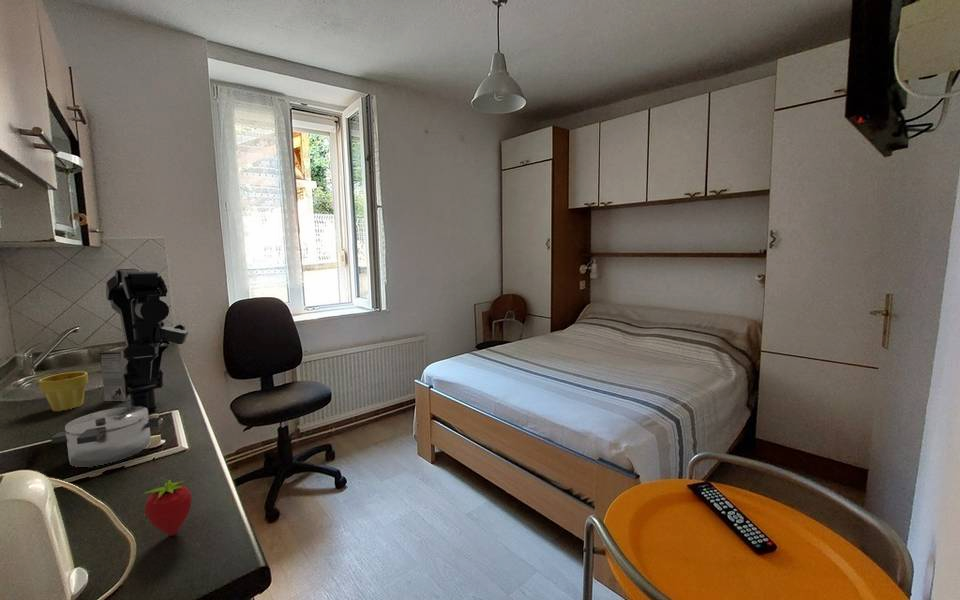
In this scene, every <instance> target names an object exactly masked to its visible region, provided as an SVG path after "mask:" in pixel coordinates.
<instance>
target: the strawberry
mask: <svg viewBox="0 0 960 600" xmlns="http://www.w3.org/2000/svg"><path fill="white" fill-rule="evenodd" d="M158 478H160V479H162V480H164V481H166V482H165V483H164V484H163V486H162V487H156V488H152V489H151V490H148V491H146V492H143V495H146V494H151V495H150V496H149V497H148V499H147V500H146V502H145V506H144V514H145V515H146V518H147V520H148V521H149V523H150V524H151V525H152V526H154V528H155V529H158V530H159V531H161V532H163V533H165V534H167V535H168V536H171V537H174V536H176V535H177V534H178V532H179V531H180V529H181V527H182V525H183V524H184V523H185V520H186V519H187V517H188V516H189V513H190V511H191V507H192V502H193V501H192V500H193V496H192V493H191V491H190V489H189V488H188V487H186V486H185V485H182V483H185V482H186V481H187V480H183V481H182V480H181V481H177V482H171V481H172V480H171V479H166V478H163V477H161V476H160V477H158Z"/></svg>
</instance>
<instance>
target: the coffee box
mask: <svg viewBox="0 0 960 600" xmlns="http://www.w3.org/2000/svg"><path fill="white" fill-rule="evenodd" d="M126 348H127V347H126V345H123V346H118V347H113V348H111V349H107V350H104V351H101V352H99V360H100V369H101V376H102V385H103V393H104V402H105V401H122V402H128V401H131V400H130V394H128V395H125V394H124V393H123V392H122V387H121V382H122V374H124V369H125V367H126V365H127V363H128V361H127V360H126V358H124V355H123V350H124V349H126ZM128 389H129V387H128Z"/></svg>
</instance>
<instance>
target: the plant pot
mask: <svg viewBox="0 0 960 600" xmlns="http://www.w3.org/2000/svg"><path fill="white" fill-rule="evenodd" d="M88 384H89V375H88V372H86V371H71V372H64V373H62V372H61V373H58V374H57V373H56V374H52V375H49V376H48V375H47V376H45V377H42V378H41V379H39V380H38V387H39V391H40V392H41V393H44V396H45V398H46V400H47V402H48V404H49V406H50V409H51V410H52V412H63V411H62V410H65V411H69V410H68V409H70V410H73V409H72V408H74V409H77V408H79V407H81V406H82V404H84V401H85V394H86V393H85V392H86V386H87V385H88ZM76 407H77V408H76Z"/></svg>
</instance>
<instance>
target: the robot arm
mask: <svg viewBox="0 0 960 600" xmlns="http://www.w3.org/2000/svg"><path fill="white" fill-rule="evenodd" d="M105 283H106V285H105V298H106V300H107V301H109V303H110V307H111V309H113V310H114V311H115V312H116V313H117V314H119V316H120V321H121V327H122V333H123V337H124V341H125V346H126V347H127V348H126V349H124V350H123V355H124V358H126V360H127V361H128V363H127V365H126V367H125V369H124V374H122V382H121V387H122V392H123V393H124V394H125V395H128V394H130V400H129V401H130V406H140V407H145V408H147V409H148V413H152V412H153V413H154V412H156V411H157V410H158V409H159V408H160V406H161V403H160V402H159V403H157V397H156V396H157V395H156V389H161V388H162V387H164V385H163V383H164V382H163V379H164V372H163V371H162V370H161V367H162V362H163V358H164V357H163V356H164V352H165V351H166V350H167V349H168V348H170V346H171V344H172V343H175V344H176V345H183V344H184V343H185V342H186V339H187V337H188V334H189V331H188V329H186V327H185V325H183V324H179V323H177V325H175V326H174V327H173V326H165V322H164V320H165V319H166V318H167V317H168V316H169V312H170V308H169V305H168V304H167V303H166V302H165V301H163V300H161V299H160V298H163V297H164V298H165V297H167V294H168V288H167V285H166V282H165V280H164V279H163V278H162V275H161V274H159V272H157V271H155V270H153V271H152V270H149V271H145V270H144V271H140V270H139V269H136V268H118V269H115V271H114V275H113V276H112V277H111V278H110V279H108V280H107V281H106V282H105ZM128 387H129V389H128Z"/></svg>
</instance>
